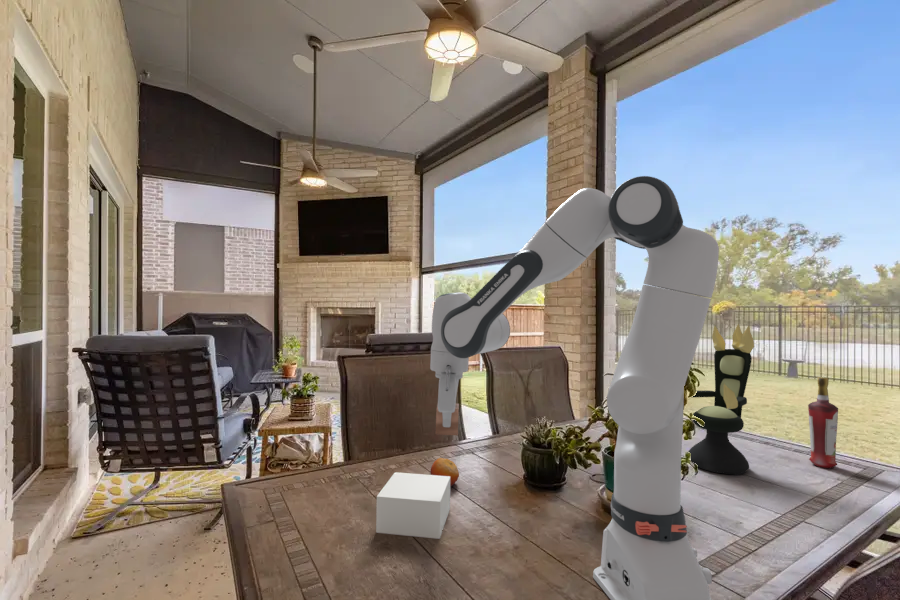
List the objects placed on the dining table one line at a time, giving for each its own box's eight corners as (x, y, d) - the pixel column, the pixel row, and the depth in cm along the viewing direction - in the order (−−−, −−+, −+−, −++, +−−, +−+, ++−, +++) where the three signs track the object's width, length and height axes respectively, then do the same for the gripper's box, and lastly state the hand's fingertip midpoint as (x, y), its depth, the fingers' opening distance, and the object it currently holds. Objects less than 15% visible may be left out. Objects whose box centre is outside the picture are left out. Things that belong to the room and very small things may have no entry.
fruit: (427, 472, 125) (442, 449, 124) (450, 488, 123) (465, 465, 122) (420, 483, 117) (435, 459, 116) (444, 501, 115) (460, 476, 115)
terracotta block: (457, 435, 98) (458, 408, 98) (435, 434, 98) (436, 407, 98) (458, 428, 103) (458, 403, 103) (436, 427, 103) (437, 402, 103)
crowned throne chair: (669, 459, 142) (670, 322, 143) (713, 451, 151) (714, 322, 152) (727, 480, 125) (727, 324, 126) (773, 469, 134) (773, 324, 135)
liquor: (813, 460, 143) (813, 375, 144) (842, 467, 137) (842, 378, 138) (804, 464, 140) (804, 377, 140) (833, 471, 133) (833, 380, 134)
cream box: (439, 539, 92) (440, 501, 92) (376, 533, 94) (376, 496, 94) (450, 509, 105) (450, 476, 106) (394, 504, 108) (394, 472, 108)
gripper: (462, 370, 90) (460, 437, 90) (463, 357, 110) (461, 411, 110) (432, 369, 90) (430, 435, 90) (438, 356, 110) (436, 410, 110)
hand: (447, 422), depth 100 cm, fingers closed on terracotta block, 5 cm apart
